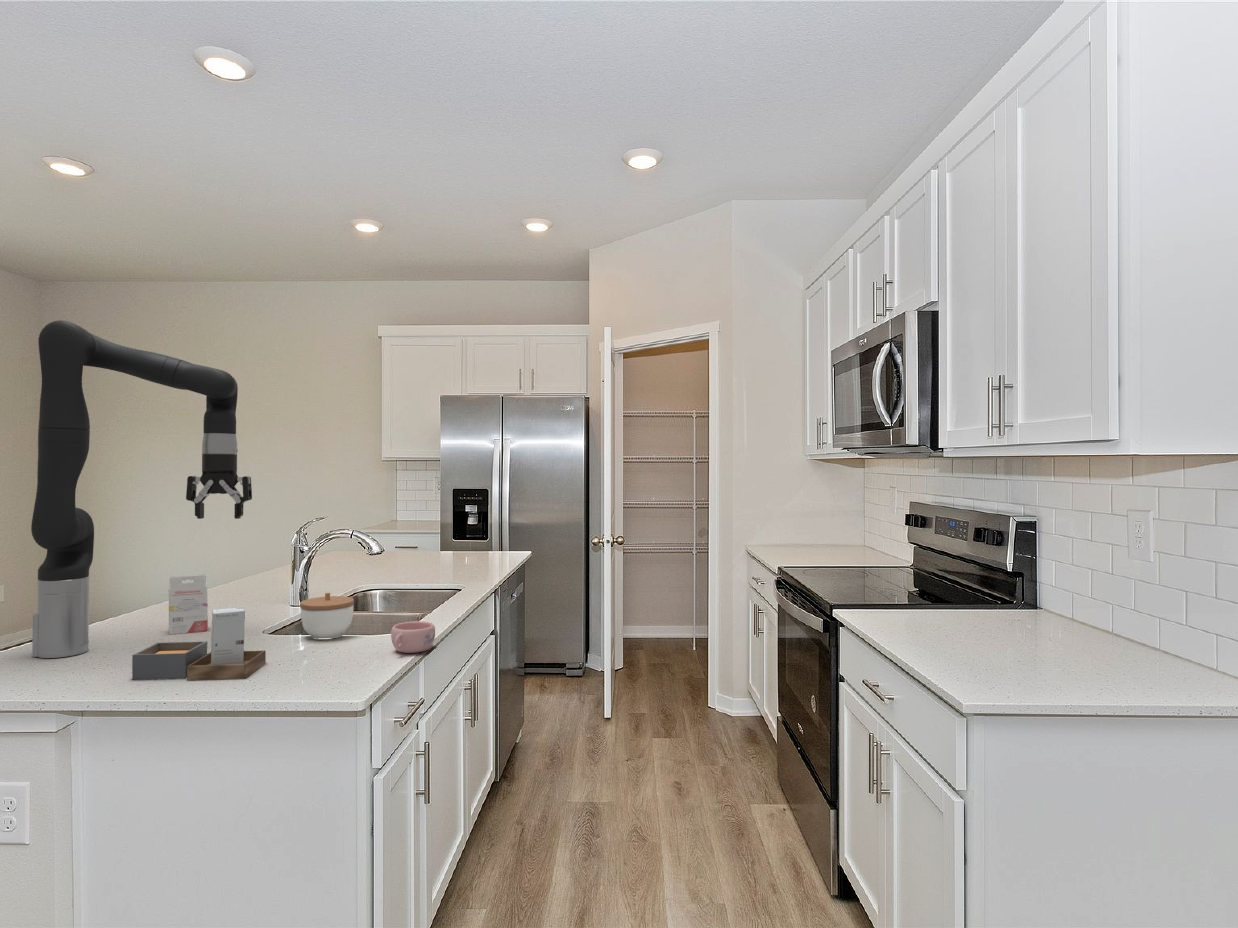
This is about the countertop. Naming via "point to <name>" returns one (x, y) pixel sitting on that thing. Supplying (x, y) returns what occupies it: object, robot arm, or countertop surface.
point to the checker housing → (166, 660)
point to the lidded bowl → (326, 616)
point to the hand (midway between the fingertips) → (219, 518)
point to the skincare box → (227, 636)
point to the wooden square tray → (226, 667)
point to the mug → (413, 636)
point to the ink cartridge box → (188, 605)
